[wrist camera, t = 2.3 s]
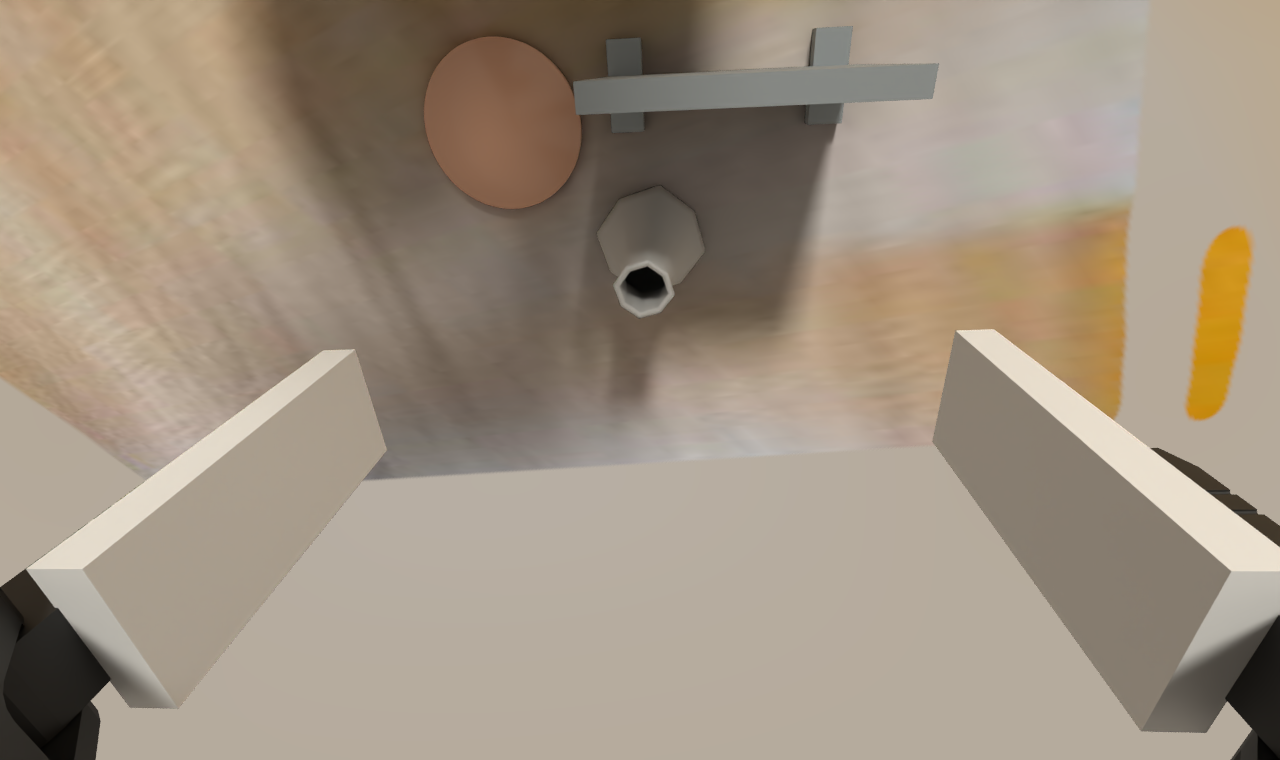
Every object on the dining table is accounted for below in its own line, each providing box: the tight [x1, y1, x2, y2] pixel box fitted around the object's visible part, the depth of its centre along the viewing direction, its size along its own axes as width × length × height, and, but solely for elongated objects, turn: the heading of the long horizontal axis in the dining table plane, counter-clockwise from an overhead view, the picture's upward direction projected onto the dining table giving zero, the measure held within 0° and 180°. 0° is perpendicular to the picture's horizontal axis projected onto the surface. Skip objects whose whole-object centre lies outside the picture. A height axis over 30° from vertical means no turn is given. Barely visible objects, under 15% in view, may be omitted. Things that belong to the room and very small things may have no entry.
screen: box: [573, 26, 939, 133], centre depth 28 cm, size 5×14×14 cm, turn 93°
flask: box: [596, 185, 705, 319], centre depth 35 cm, size 7×7×10 cm
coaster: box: [424, 36, 582, 209], centre depth 36 cm, size 10×10×1 cm
